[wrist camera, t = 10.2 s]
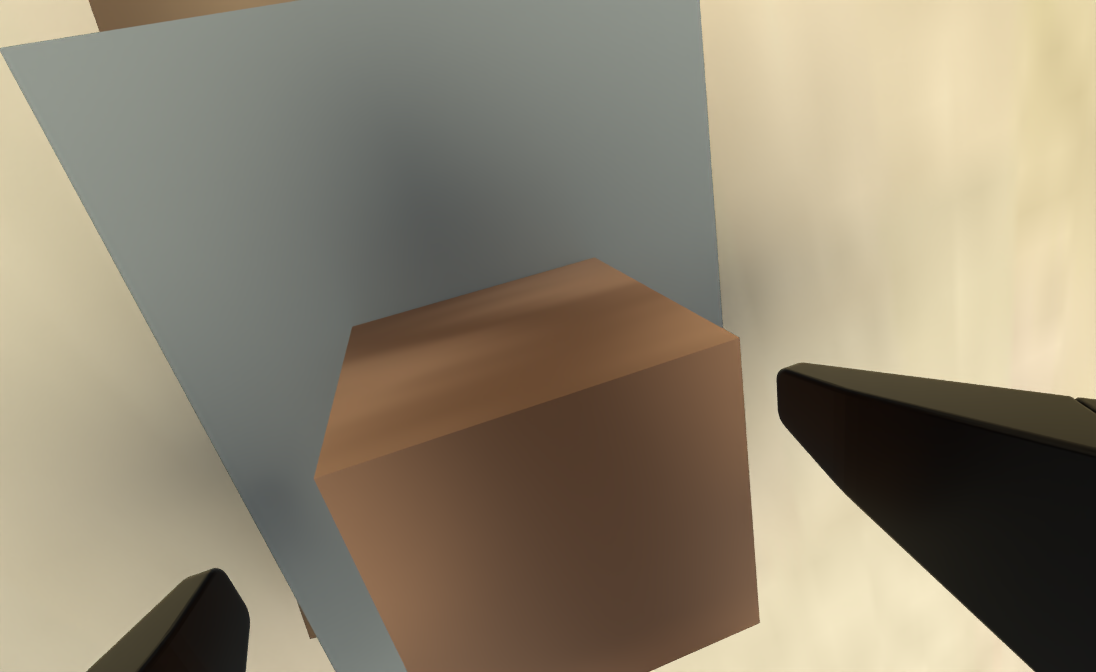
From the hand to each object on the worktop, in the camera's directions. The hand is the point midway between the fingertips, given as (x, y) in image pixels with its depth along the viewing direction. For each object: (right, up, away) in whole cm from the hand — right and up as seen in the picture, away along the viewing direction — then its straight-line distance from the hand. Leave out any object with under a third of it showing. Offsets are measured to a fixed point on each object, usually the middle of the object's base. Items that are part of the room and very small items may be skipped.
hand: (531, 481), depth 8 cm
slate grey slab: (-1, +2, +5) cm, 6 cm away
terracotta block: (-1, +1, +3) cm, 3 cm away
